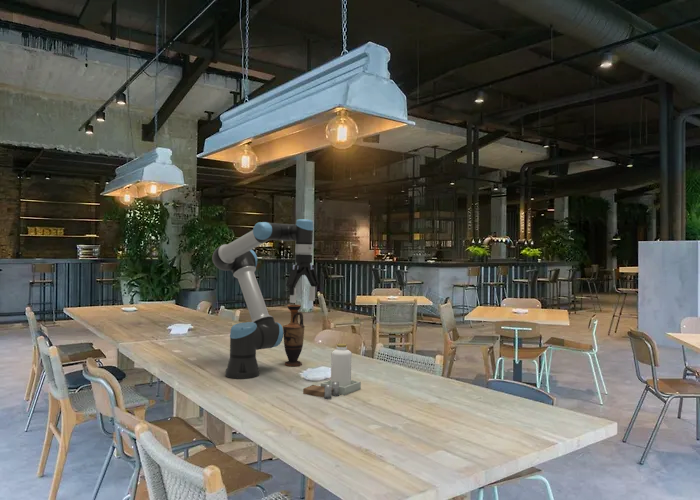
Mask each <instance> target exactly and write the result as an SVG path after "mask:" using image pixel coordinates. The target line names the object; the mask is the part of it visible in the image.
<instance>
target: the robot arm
mask: <svg viewBox="0 0 700 500" xmlns="http://www.w3.org/2000/svg"><path fill="white" fill-rule="evenodd" d="M313 238H314V222H313V220H312V219H303V218H299V219H296V223H295V224H291V223H290V224H289V223H275V222H268V221H262V222H261V221H259V222H257V223H255V224H254V226H253V229H252V230H250V231H249V232H247V233H245V234H244V235H242V236H240V237H238V238H236V239H235V240H233V241H231V242H229V243H228V244H226V243H224V244H221V245H220V246H218V247H217V248H216V249H215V250H214V251H213V252H212V253H213V254H212V256H211V257H212V259H211V260H212V263H213V265H214V266H215V267H216V268H217V269H218V270H221V271H224V272H226V271H230V272H231V273H232V275H233V277H234V278H236V279H237V281H238V283H239V286H240V289H241V292H242V296H243V299H244V301H245V304H246V307H247V310H248V313H249V316H250V319H251V321H247V322H239V323H235V324H234V325H231V327H230V332H229V333H230V334H229V360H228V364H227V367H226V369H225V377H227V378H230V379H237V380H238V379H240V380H241V379H243V380H244V379H253V378H257V377H258V376H259V375H260V368H259V365H258V361H257V356H256V355H257V351H258V350H265V349H273V348H275V347H278V346H279V345H280V344H281V343H282V341H283V339H284V334H283V325H282V324H281V323H280V322H278V321H275V319H274V316H272V315H270V314H269V311H268V309H267V305H266V302H265V299H264V297H263V294H262V291H261V288H260V285H259V283H258V280H257V278H256V274H255V272H256V270H257V266H258V256H257V254H256V251H254V250H253V249H255V248H257V247H259V246H260V245H263V244H264V243H267V242H268V241H283V242H293V241H295V251H294V252H295V256H294V257H295V258H294V262H295V263H296V264H291V267H290V268H291V269H290V272H289V275H288V279H287V281H286V285H285V286H286V287H287V288H289V303H291V304H296V303H297V302H296V301H297V287H296V285H297V284H298V282H299V280H300V278H301V277H302V276H305V277H306V279H307V281H308V283H309V285H310V286H309V292H308V293H309V295H308V299H309V300H308V301H310V302H311V301H312V302H315V300H316V292H317V291H316V289H317V288H316V287H318V286H319V284H320V283H319V279H318V275H317V272H316V265H315V264H312V263H313V255H312V254H313V244H314V243H313V241H314V239H313Z"/></svg>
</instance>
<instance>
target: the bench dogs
mask: <svg viewBox="0 0 700 500" xmlns="http://www.w3.org/2000/svg"><path fill="white" fill-rule="evenodd" d="M339 395H340V394H339V382H332V385H331V384H326V385H324V397H323V399H325V400H332V398H333V397H338V396H339Z"/></svg>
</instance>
